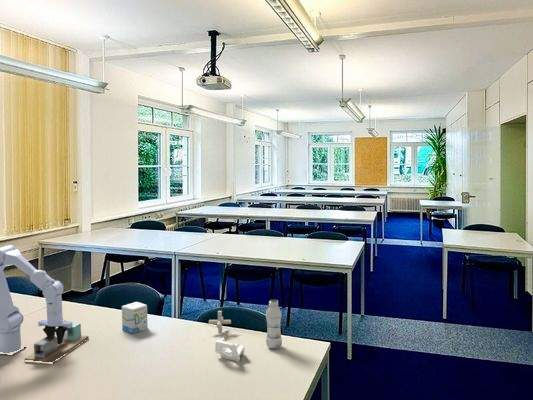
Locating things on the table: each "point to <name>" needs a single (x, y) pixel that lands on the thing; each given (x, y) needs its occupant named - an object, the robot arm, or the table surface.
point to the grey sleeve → (45, 347)
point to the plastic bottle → (273, 325)
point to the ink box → (134, 317)
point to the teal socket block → (74, 331)
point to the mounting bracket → (229, 350)
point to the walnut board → (60, 349)
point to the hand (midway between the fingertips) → (56, 343)
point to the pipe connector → (219, 322)
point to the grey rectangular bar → (56, 336)
